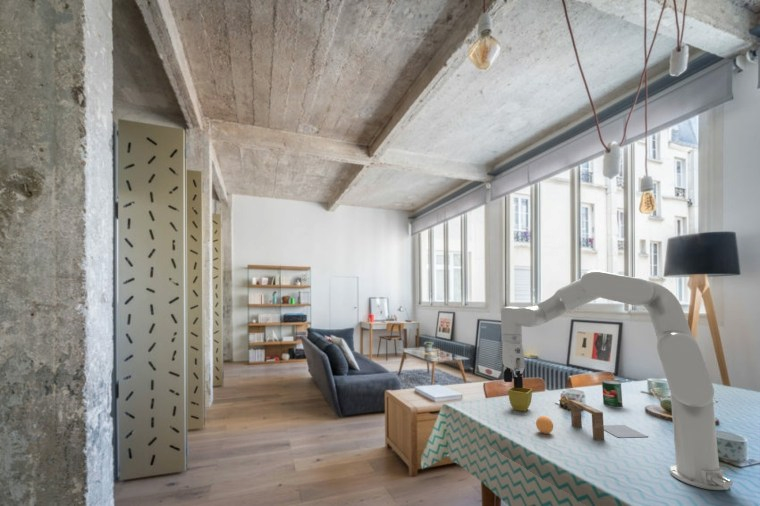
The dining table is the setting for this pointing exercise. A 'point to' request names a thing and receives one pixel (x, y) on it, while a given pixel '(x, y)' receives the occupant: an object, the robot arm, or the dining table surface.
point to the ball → (544, 424)
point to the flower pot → (520, 398)
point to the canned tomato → (612, 393)
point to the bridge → (596, 418)
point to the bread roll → (565, 403)
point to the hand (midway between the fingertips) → (513, 384)
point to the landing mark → (622, 431)
